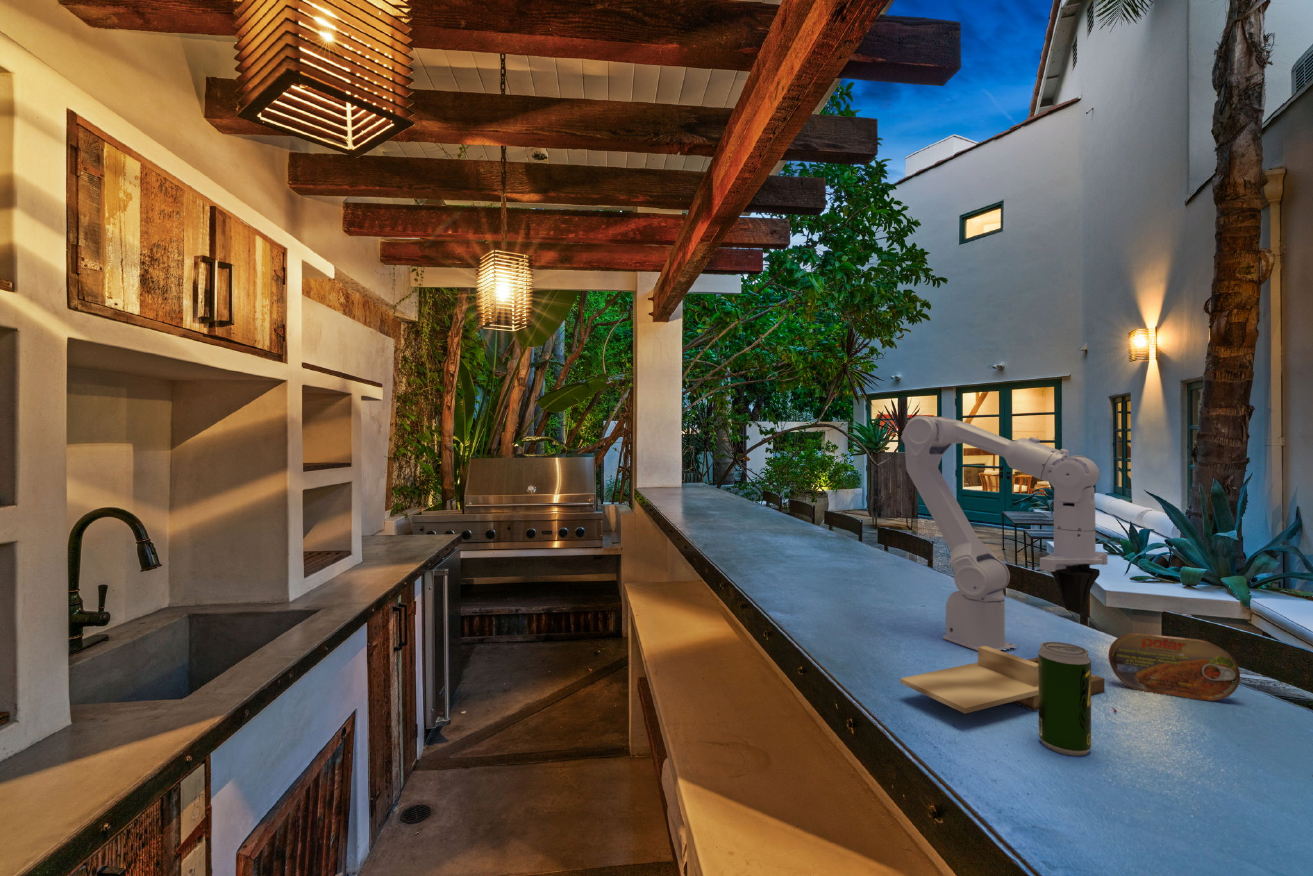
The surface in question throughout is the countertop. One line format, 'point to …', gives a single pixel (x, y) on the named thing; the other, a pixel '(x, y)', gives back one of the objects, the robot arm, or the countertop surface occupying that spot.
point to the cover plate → (980, 681)
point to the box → (1033, 701)
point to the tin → (1174, 666)
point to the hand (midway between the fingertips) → (1074, 611)
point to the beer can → (1064, 698)
